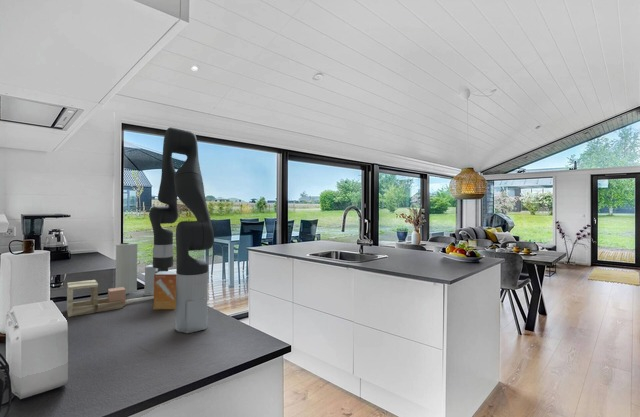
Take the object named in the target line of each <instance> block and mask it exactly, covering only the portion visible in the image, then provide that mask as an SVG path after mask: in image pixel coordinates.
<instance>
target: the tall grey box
mask: <svg viewBox="0 0 640 417" xmlns="http://www.w3.org/2000/svg"><path fill="white" fill-rule="evenodd" d="M120 287H124V288H125V289H126V295H129V294H133V293H137V290H138V243H131V242H122V243H121V242H120V243H116V244H115V287H114V288H120Z"/></svg>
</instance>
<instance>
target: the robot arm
mask: <svg viewBox="0 0 640 417" xmlns="http://www.w3.org/2000/svg"><path fill="white" fill-rule="evenodd" d="M163 137H164V138H163V146H162V159H161V175H160V176H161V177H160V183H159V188H158V194H157V200H158V201H159V202H160V203H162V204H164V205H168V206H158V205H157V206H152V207H151V209H150V210H149V212H148V213H149V214H148V217H149V221H150V224H151V227H152V232H153V248H152V265H153V268H158V271H156V272H155V273H158V272H159V271H169V268H172V267H173V266H174V232H173V231H172V230H171V229H166V228H163V227H162V225H163V224H164V225H165V224H168V225H170V224H174V223H176V222H177V221H178V219H179V211H178V199H179V201H180V202H181V203H182V204H183V205H184V206H186V207H187V209H188V210H190V212H191V213H192V214H193V215H194V217H195V219H196V220H187V221H186V220H182V221H179V222H178V223H177V225H176V228H175V248H176V249H175V250H176V251H175V252H176V260H175V261H176V269H175V271H176V309H175V322H174V324H175V327H174V329H175V331H176V332H179V333H184V334H191V333H194V332H195V333H196V332H199V331H205V330H207V328H208V295H209V294H208V293H209V292H208V291H209V288H208V285H209V264H208V262H206V261H204V260H201V259H197V258H194V257H192V256H191V255H190V254H189V252H191V251H193V252H194V251H207V250H210V249H211V248H213V246H214V244H215V243H214V242H215V234H214V226H213V224H212V220H211V216H210V212H209V208H208V205H207V200H206V194H205V186H204V180H203V176H202V175H203V174H202V172H201V167H200V162H199V161H200V160H199V147H198V140H197V139H198V138H197V135H196V133H194V132H192V131H189V130H185V129H181V128H176V127H168V128H167V129H166V130H165V133H164V136H163ZM173 154H179V155H184V156H186V160H185V161H184V162H183V163H182V164H181V165H180V167H179V168H178V169H177V170H176V169H175V167H174V164H173Z"/></svg>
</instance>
